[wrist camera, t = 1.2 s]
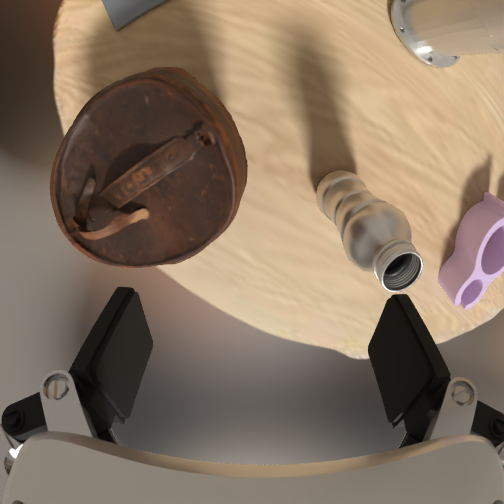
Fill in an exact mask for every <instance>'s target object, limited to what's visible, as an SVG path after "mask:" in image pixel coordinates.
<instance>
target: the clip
mask: <svg viewBox="0 0 504 504" xmlns="http://www.w3.org/2000/svg"><path fill="white" fill-rule="evenodd" d="M491 235H492V236H491ZM490 237H491V238H490ZM489 238H490V240H489ZM488 240H489V242H488ZM487 242H488V244H487ZM486 244H487V245H486ZM485 246H486V247H485ZM503 271H504V201H502V200H500V199H499V198H497V197H495V196H494V195H492V194H490V193H489V192H485V193H484V199H483V201H482V202H479V203H477V204H475V205H474V206H472V207H471V208H470V209H469V210H468V211H467V213H466V214H465V215H464V217H463V219H462V221H461V223H460V225H459V227H458V230H457V234H456V240H455V249H454V252H453V254H452V255H451V257H450V258H449V259H448V260H447V261H446V262H445V263H444V265H443V266H442V268H441V270H440V272H439V276H438V283H439V285H440V286H441V287H442V289H443V290H444V291H445V293H446V294H447V295H448V297H449V298H450V299H451V301H452V302H453V303H454V305H455V306H458V305H459V304H461V305H462V307H463V308H464V309H465V310H467V309H469V308H471V307H472V306H474V305H475V304H476V303H477V302H478V301H479V300H480V299H481V297H482V296H483V294H484V293H485V291H486V288H487V287H488V285H489V284H490V283H491V282H492V281H493V280H494V279H495V278H496V277H498V276H499V275H500V274H501V273H502V272H503Z"/></svg>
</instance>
